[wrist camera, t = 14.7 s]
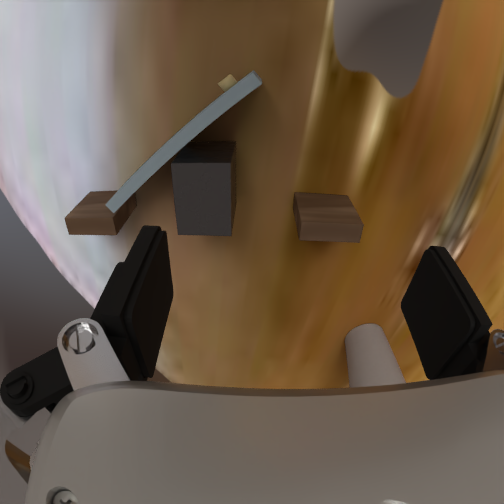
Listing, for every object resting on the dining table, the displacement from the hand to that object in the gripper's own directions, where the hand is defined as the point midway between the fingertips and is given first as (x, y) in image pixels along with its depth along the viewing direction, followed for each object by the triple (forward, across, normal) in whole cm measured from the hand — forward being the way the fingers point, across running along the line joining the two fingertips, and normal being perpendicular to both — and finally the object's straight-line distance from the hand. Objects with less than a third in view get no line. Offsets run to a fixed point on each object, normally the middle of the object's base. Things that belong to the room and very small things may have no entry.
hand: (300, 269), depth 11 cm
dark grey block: (+23, +6, +6) cm, 24 cm away
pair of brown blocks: (+23, +6, +9) cm, 25 cm away
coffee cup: (+22, -18, +31) cm, 42 cm away
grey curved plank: (+22, +9, +1) cm, 24 cm away
